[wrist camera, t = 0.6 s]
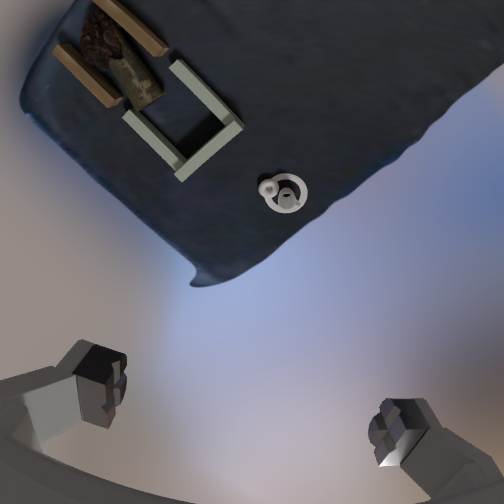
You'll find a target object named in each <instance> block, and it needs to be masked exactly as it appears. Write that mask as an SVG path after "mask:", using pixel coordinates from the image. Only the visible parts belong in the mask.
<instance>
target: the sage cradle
mask: <svg viewBox="0 0 504 504" xmlns="http://www.w3.org/2000/svg"><path fill="white" fill-rule="evenodd" d="M169 69H170V70H171V71H172V72H173V73H174V74H175V75H176V76H177V77H178V78H179V79H180V80H181V81H182V82H183V83H184V84H185V85H186V86H187V87H188V88H189V89H190V90H191V91H192V92H193V93H194V94H195V95H196V96H197V97H198V98H199V99H200V100H201V101H202V102H203V103H204V104H205V105H206V106H207V107H208V108H209V109H210V110H211V111H212V112H213V113H214V114H215V115H216V116H217V117H218V118H219V119H220V121H221V122H222V123H223V124H224V125H225V127H224V128H222V129H221V130H220V131H219V132H218V133H217V134H216V135H214V136H213V137H212V138H211V139H210V140H209V141H208V142H206V143H205V144H204V145H203V146H202V147H201V148H200V149H199V150H197V151H196V152H195V153H194V154H193V155H192V156H191V157H190V158H189V159H188V160H187V159H186V158H185V157H184V156H183V155H182V154H181V153H180V152H179V151H178V150H177V149H176V148H175V147H174V146H173V145H172V144H171V143H170V142H169V141H168V140H167V139H166V138H165V137H164V136H163V135H162V134H161V133H160V132H159V131H158V130H157V129H156V128H155V127H154V126H153V125H152V124H151V123H150V122H149V121H148V120H147V119H146V118H145V117H144V116H143V115H142V114H141V113H140V112H137V111H136V110H135V108H132V109H129V110H128V112H127V113H126V114H125V115H124V116H123V117H122V118H123V119H124V120H125V121H126V122H127V123H128V124H129V125H130V126H131V127H132V128H133V129H134V130H135V131H136V132H137V133H138V134H139V135H140V136H141V137H142V138H143V139H144V140H145V141H146V142H147V143H148V144H149V145H150V146H151V147H152V148H153V149H154V150H155V151H156V152H157V153H158V154H159V155H160V156H161V157H162V158H163V159H164V160H165V161H166V162H167V163H168V164H169V165H170V166H171V167H172V168H173V169H174V170H175V171H176V172H175V174H174V175H175V176H176V177H177V178H178V179H179V180H180V181H181V182H183V181H184V180H185V179H186V178H187V177H188V176H189V175H191V174H192V173H193V172H194V171H195V170H196V169H197V168H198V167H200V166H201V165H202V164H203V163H204V162H205V161H206V160H207V159H209V158H210V157H211V156H212V155H213V154H214V153H215V152H217V151H218V150H219V149H220V148H221V147H222V146H224V145H225V144H226V143H227V142H228V141H230V140H231V139H232V138H233V137H234V136H236V135H237V134H238V133H239V132H240V131H242V130H243V128H244V124H243V122H242V121H241V120H240V119H239V118H238V117H237V116H236V115H235V114H234V113H233V112H232V111H231V110H230V108H229V107H228V106H227V105H226V104H225V103H224V102H223V101H222V100H221V99H220V98H219V97H218V96H217V95H216V94H215V93H214V92H213V91H212V90H211V89H210V88H209V87H208V86H207V85H206V84H205V82H204V81H203V80H202V79H201V78H200V77H199V76H198V75H197V74H196V73H195V72H194V71H193V70H192V69H191V68H190V67H189V66H188V65H187V64H186V63H184V62H183V61H182V60H177V61H175V62H174V63H173V64H172V65H171V66H170V67H169Z"/></svg>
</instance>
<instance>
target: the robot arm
mask: <svg viewBox="0 0 504 504" xmlns="http://www.w3.org/2000/svg"><path fill="white" fill-rule="evenodd" d="M126 366H127V356H126V354H124V353H121V352H117V351H115V350H112V349H109V348H106V347H103V346H100V345H97V344H94V343H91V342H88V341H85V340H83V339H81V340H78V341H77V342H76V344H75V345H74V346H73V347H72V348H71V349H70V351H69V352H68V353H67V354H66V355H65V356H64V358H63V359H62V360H61V361H60V363H59V364H58V365H57V366H56V367H53V366H49V367H45V368H42V369H39V370H35V371H32V372H29V373H25V374H21V375H18V376H14V377H11V378H8V379H4V380H0V504H194V503H189V502H184V501H179V500H175V499H170V498H166V497H161V496H158V495H154V494H150V493H146V492H142V491H139V490H136V489H132V488H129V487H126V486H123V485H120V484H117V483H114V482H111V481H108V480H105V479H102V478H99V477H97V476H94V475H91V474H89V473H86V472H84V471H81V470H79V469H76V468H74V467H71V466H69V465H67V464H64V463H62V462H60V461H58V460H56V459H54V458H51V457H49V456H47V455H45V454H43V452H42V449H41V447H40V445H41V444H43V443H45V442H46V441H49V440H50V439H52V438H54V437H56V436H58V435H59V434H61V433H63V432H65V431H66V430H68V429H70V428H72V427H74V426H75V425H77V424H79V423H81V422H82V420H83V421H86V422H89V423H92V424H95V425H98V426H101V427H104V428H107V429H109V427H110V425H111V423H112V420H113V418H114V417H115V414H116V413H115V412H116V411H115V407H116V406H118V405H120V404H121V402H122V400H123V397H124V394H125V391H126V384H127V376H126V374H125V373H124V370H125V368H126ZM379 408H380V413H378V414H377V415H376V416H374V417H373V419H372V420H371V422H370V424H369V429H368V436H369V440H370V443H372V444H373V445H374V446H375V447H376V448H375V451H374V454H375V457H376V460H377V462H378V465H379V466H396V465H397V466H398V465H400V467H401V468H402V469H403V470H404V471H405V472H406V473H407V474H408V475H409V476H410V477H411V478H412V479H413V480H414V481H415V482H416V483H417V484H418V485H419V486H420V487H421V488H422V489H423V490H424V491H425V492H426V493H427V494H428V495H429V496H430V497H431V499H430V500H429V501H426V502H421V503H417V504H504V477H503V475H502V474H501V472H500V470H499V469H498V467H497V465H496V464H495V462H494V460H493V459H492V457H490V456H489V455H487V454H486V453H484V452H483V451H481V450H480V449H478V448H476V447H475V446H473V445H472V444H470V443H468V442H467V441H466V440H464V439H463V438H461V437H459V436H458V435H456V434H455V433H453V432H452V431H450V430H449V429H447V428H443V427H442V425H441V424H440V422H439V421H438V419H437V418H436V416H435V414H434V413H433V411H432V409H431V408H430V406H429V404H428V403H427V401H426V400H425V399H423V398H416V399H415V398H414V399H412V398H411V399H392V398H386V399H385V400H384V401H383V402H382V404H381V405H380V407H379Z"/></svg>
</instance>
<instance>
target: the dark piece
mask: <svg viewBox="0 0 504 504" xmlns="http://www.w3.org/2000/svg"><path fill="white" fill-rule="evenodd" d="M82 32H83V34H82V36H81V38H80V45H81V54H83V55H84V60H85V61H87V62H88V63H90V64H92V65H94V66H96V67H99V68H105V69H109V68H110V69H111V70H112V72H113V73H114V75H115V76H116V78H117V80H118V81H119V83H120V85H121V86H122V88H123V90H124V91H125V93H126V94H127V96H128V98H129V100H130V101H131V103H132V105H133V106H134V108H135V110H136V111H137V112H139V111H141V110H142V109H144V108H145V107H147V106H149V105H150V104H152V103H153V102H154V101H156V100H157V99H159V98H160V97H162V96H163V95H164V94H165V92H164V91H163V90H162V88H161V87H160V86H159V84H158V83H157V81H156V80H155V79H154V77H153V76H152V75H151V73H150V72H149V71H148V69H147V68H146V66H145V65H144V64H143V63H142V61H141V60H140V58H139V57H138V55H137V54H136V52H135V51H134V50H133V48H132V47H131V45H130V44H129V43H128V41H127V40H126V38H125V37H124V35H123V34H122V31H121V26H120V25H119V24H118V23H117V22H116V21H115V20H114V19H113V18H112V17H110V16H109V15H108V14H107V13H106V12H105V11H104V10H103V11H99V10H96V11H95V12H94V14H93V13H92V15H90V16H88V17H87V19H86V24H85V25H84V27H83V28H82Z"/></svg>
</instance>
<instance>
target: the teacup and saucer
mask: <svg viewBox="0 0 504 504" xmlns="http://www.w3.org/2000/svg"><path fill="white" fill-rule="evenodd" d="M283 179H289V180H292V181H294V182H296V183H297V184H298V185H299V187H300V190H301V197H300V199H299V201H297V200H296V198H295V195H294V193H293V191H292V190H291V189H290V188H283V189H282V190H281V191H280V192H279V196H278V204H279V206H278V205H277V204H275V203H274V202H273V200H272V199H271V197H274V196H275V195H276V194H277V193H278V191H279V185H278V183H277V182H278V181H280V180H283ZM271 188H272V190H271ZM259 192H260V194H261V195H262V196H263V197H265V200H266V202H267V204H268V205H269V206H270V207H271V208H272V209H273V210H275V211H277V212H280V213H291V212H294V211H296V210H298V209H299V208H301V207H302V206H303V204H304V203H305V201H306V199H307V187H306V185H305V183H304V182H303V180H302V179H300V178H299V177H298V176H296V175H293V174H289V173H283V174H279V175H276V176H274V177H273V178H271V179H266V180H264V181H262V182H261V183H260V185H259ZM283 194H291V195H290V196H289V197H284V196H283ZM338 201H339V200H338ZM335 203H336V202H335ZM332 205H333V204H332Z"/></svg>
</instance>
